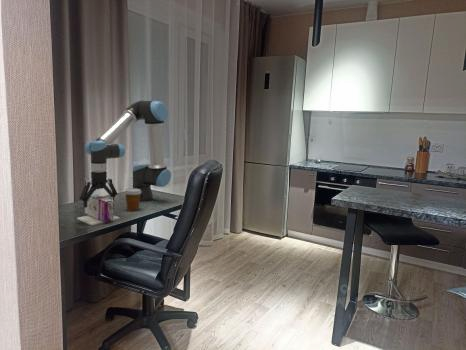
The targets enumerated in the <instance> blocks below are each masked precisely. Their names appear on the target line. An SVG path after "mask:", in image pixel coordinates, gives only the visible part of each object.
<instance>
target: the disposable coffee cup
mask: <svg viewBox="0 0 466 350" xmlns="http://www.w3.org/2000/svg"><path fill="white" fill-rule="evenodd" d="M124 194H125V199H126V201H125V202H126V207H127V211H129V212H130V211H131V212H136V211H139V208H140V202H141V201H140V195H141V190H140V189H137V188H131V187H130V188H126V189H125V190H124Z"/></svg>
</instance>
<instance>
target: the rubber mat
mask: <svg viewBox="0 0 466 350" xmlns="http://www.w3.org/2000/svg"><path fill="white" fill-rule="evenodd" d="M76 220H78V221H80V222H83V223H84V224H88V225H90V226H96V225H99V224H104V223H105V222H103V221H100V220H98V219H96V218H93V217H91V216H88V215H84V216H77V217H76ZM117 220H120V217H119V216H116V215H114V214H113V221H117Z"/></svg>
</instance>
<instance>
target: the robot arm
mask: <svg viewBox="0 0 466 350" xmlns="http://www.w3.org/2000/svg"><path fill="white" fill-rule="evenodd" d="M167 117H168V108H167V106H166V104H164V103H163V102H162V101H159V100H138V101H136V102H133V103H131V104H130V105H129V106H128V107H126V109H125V110H124V111H122V114H121V116H119V117H118V118H117V119H116V120H115V121H114V122H113V123H112V124H111V125H110V126H109V127H108V128H107V129H106V130H105V131H103V132H102V134H101V135H100V136H99V137H97V138H96V139H95V140H92V141H88V142H87V143H86V144H85V146H84V151H85V152H86V153H87V155H89V156H90V170H91V172H90V179H91V181H87V180H86V181H85V183H84V187H83V190H82V191H81V194H80V196H79V201H82V204H83V208H84V213H85V214H87V215H89V198H90V196H93V195H94V192H96V191H97V190H101V189H102V190H104V191H105V192H106V193H107V194H108V195H109V196H108V199H111V200H114V201H115V197H116V196H117V195H118V192H117V189H116V187H115V185H114V184H113V179H112V178H107V177H108V176H107V175H108V174H107V173H108V172H107V167H108V166H107V164H108V163H107V161H108V160H107V159H119V158H123V157H124V156H125V153H126V148H125V147H124V145H123V144H121V143H114V142H115V141H116V140H117V139H118V138H119V137H120V136H122V134H123V133H124V132H126V131H127V129H128V128H129V127H130V126H132V125H133V124H136V123H137V122H138V121H142V120H144V124H145V126H146V127H147V134H148V150H149V163H150V164H148V163H146V164H136V165H133V166H132V171H131V173H132V176H131V178H132V188H137V189H140V190H141V195H140V202H149V201H152V200H154V195H153V191H152V189H151V187H152V186H153V187H154V186H155V187H156V188H157V187H158V188H159V187H162V188H164V187H167V185H169V184H170V182H171V179H172V172H171V170H169V169H168V167H167V164H166V163H165V157H164V142H163V125H164V124H165V120H166V119H167ZM106 184H108V185H106ZM108 186H109V187H108Z"/></svg>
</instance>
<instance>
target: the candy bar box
mask: <svg viewBox="0 0 466 350" xmlns="http://www.w3.org/2000/svg"><path fill="white" fill-rule="evenodd" d="M88 201H89V214H87V216H91V217H93V218H96V219H98V220H100V221H103V222H104V223H110V222H113V221H114V220H113V215H114V204H115V203H114V202H115V199H114V200H111V199H109V197H108V198H107V197H105V196H101V195H99V194H92V195H91V196H90V198H89V199H88Z"/></svg>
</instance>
